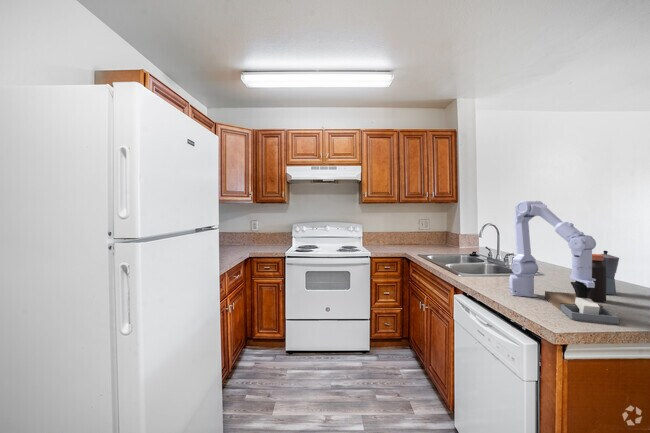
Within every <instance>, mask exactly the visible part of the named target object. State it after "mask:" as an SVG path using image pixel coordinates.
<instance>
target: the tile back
mask: <svg viewBox="0 0 650 433" xmlns="http://www.w3.org/2000/svg"><path fill="white" fill-rule="evenodd" d="M581 302H590V303H594V302H593V301H592V300H591V299H588V298H576V299H575V304H576V305H577V307H578V308H579V309H580V305H581Z"/></svg>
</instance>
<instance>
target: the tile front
mask: <svg viewBox="0 0 650 433" xmlns="http://www.w3.org/2000/svg"><path fill="white" fill-rule="evenodd" d="M598 304H599V303H598V302H596V303H590V302H581V305H580V310H579V312H580V313H586V314H596V315H599V309H600V307H599V305H600V304H599V305H598Z"/></svg>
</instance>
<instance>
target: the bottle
mask: <svg viewBox="0 0 650 433" xmlns="http://www.w3.org/2000/svg"><path fill="white" fill-rule="evenodd" d="M600 254H601V253H600ZM600 254H599V253H592V278H594V279H596V281H593V282H594V283H595V288H592V289H591V291H590V292H589V294H588V297H587V298H589V299H591V300H592V301H594V302H596V303H606V302H607V294H606V279H607V267H606V266H605V265H604V264H603V260H604V255H600Z"/></svg>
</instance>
